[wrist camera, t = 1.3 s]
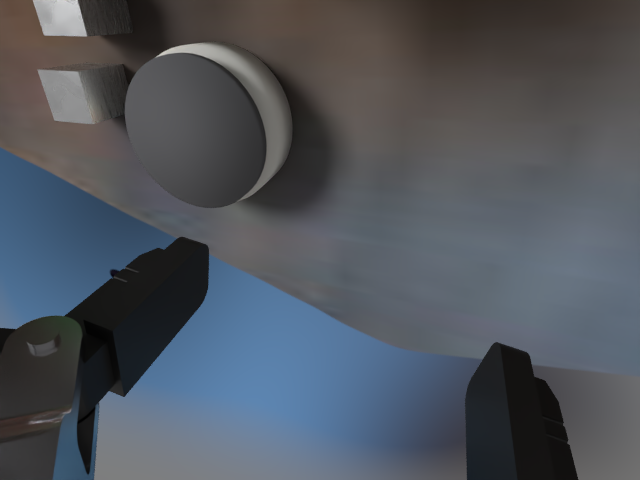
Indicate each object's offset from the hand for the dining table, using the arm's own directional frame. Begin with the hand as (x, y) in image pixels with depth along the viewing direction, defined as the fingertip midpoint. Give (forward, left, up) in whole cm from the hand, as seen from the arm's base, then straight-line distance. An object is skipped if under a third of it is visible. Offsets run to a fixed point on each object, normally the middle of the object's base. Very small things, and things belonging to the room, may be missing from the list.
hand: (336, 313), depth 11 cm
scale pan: (-11, -12, -18) cm, 24 cm away
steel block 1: (-24, -12, -23) cm, 35 cm away
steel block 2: (-21, -18, -23) cm, 36 cm away
